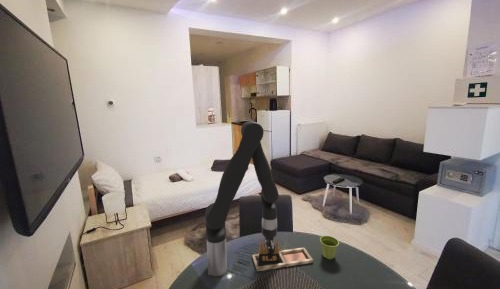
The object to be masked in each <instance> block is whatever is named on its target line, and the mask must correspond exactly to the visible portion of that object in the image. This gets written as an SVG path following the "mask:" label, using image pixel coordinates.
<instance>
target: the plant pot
mask: <svg viewBox="0 0 500 289" xmlns="http://www.w3.org/2000/svg"><path fill="white" fill-rule="evenodd" d="M319 242H320V244H321V254H322V257H323V258H325V259H327V260H333V259H334V258H335V256H336V251H337V248H338V246H339V245H340V242H339V240H338V239H337V238H336V237H335V236H331V235H323V236H320V238H319Z"/></svg>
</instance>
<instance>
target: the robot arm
mask: <svg viewBox="0 0 500 289" xmlns="http://www.w3.org/2000/svg"><path fill="white" fill-rule="evenodd" d="M264 132H265V131H264V128H263V126H262V125H261V123H259V122H256V121H253V120H248V121H245V122H244V123H243V124H242V126H241V128H240V134H241V139H240V142H239V144H238V146H237V150H236V151H235V153H234V154H233V155H232V156H231V158H230V159H229V161H228V162H227V164H226V166H225V168H224V170H223V173H222V175H221V178H220V181H219V186H218V190H217V195H216V198H215V200H214V202H212V203H210V204H209V205H207V207H206V209H205V216H204V218H205V237H206V257H207V260H206V261H207V276H212V277H220V276H223V275H224V274H225V273H226V272H228V271H227V270H228V260H227V256H228V255H227V254H228V253H227V252H228V251H227V229H226V221H227V218H228V214H229V211H230V209H231V206H232V204H233V202H234V199H235V197H236V195H237V193H238V191H239V188H240V186H241V184H242V182H243V180H244V178H245V176H246V173H247V171H248V168H249V166H250V163H251V161H252V164H253V167H254V171H255V175H256V177H257V178H256V179H257V181H258V183H259V185H260V187H261V190H260V199H261V206H262V211H261V213H262V215H261V216H262V218H261V235H262V236H263V241H265V248H266V245H267V248H268V259H272V258H273V256H272V253H274V252H275V248H276V247H277V245H276V246H274V240H275V237H277V234H278V217H277V216H278V215H277V214H278V211H277V210H278V208H277V205H276V202H278V200H279V195H280V194H279V190H278V188H277V186H276V184H275V183H276V182H275V181H274V178H273V174H272V173H273V172H272V170H271V167H270V164H269V161H268V159H267V157H266V154H265V151H264V149H263V146H262V142H261V141H262V140H263V137H264V135H265V134H264Z"/></svg>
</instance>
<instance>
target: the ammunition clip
mask: <svg viewBox="0 0 500 289" xmlns="http://www.w3.org/2000/svg"><path fill="white" fill-rule="evenodd" d="M258 243H259V246H258V254H259V258H258V260H257V262H258V264H279V263H281V259H280V255H279V251H280V241H279V240H277V241H275V239H274V246H276V248H275V252H274V253H272V259H268V248H267V245H265V241H264V240H263V241H261V240H259V242H258ZM265 246H266V247H265Z"/></svg>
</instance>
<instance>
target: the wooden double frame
mask: <svg viewBox="0 0 500 289" xmlns="http://www.w3.org/2000/svg"><path fill="white" fill-rule="evenodd" d="M279 255H280V263H271V264H266V265H260V266H259V262H258V260H257V259H259V253H255V254H252V255H251V256H252V257H251V258H252V261H253V264H254V267H255V270H256V272H260V271H261V272H262V271H267V270H274V269H281V268H285V267H286V268H288V267H292V266H299V265H307V264H312V263H314V258H312V256H311V254H309V252H308V251H307V249H306V248H305V247H298V248H291V249H284V250H279Z"/></svg>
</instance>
